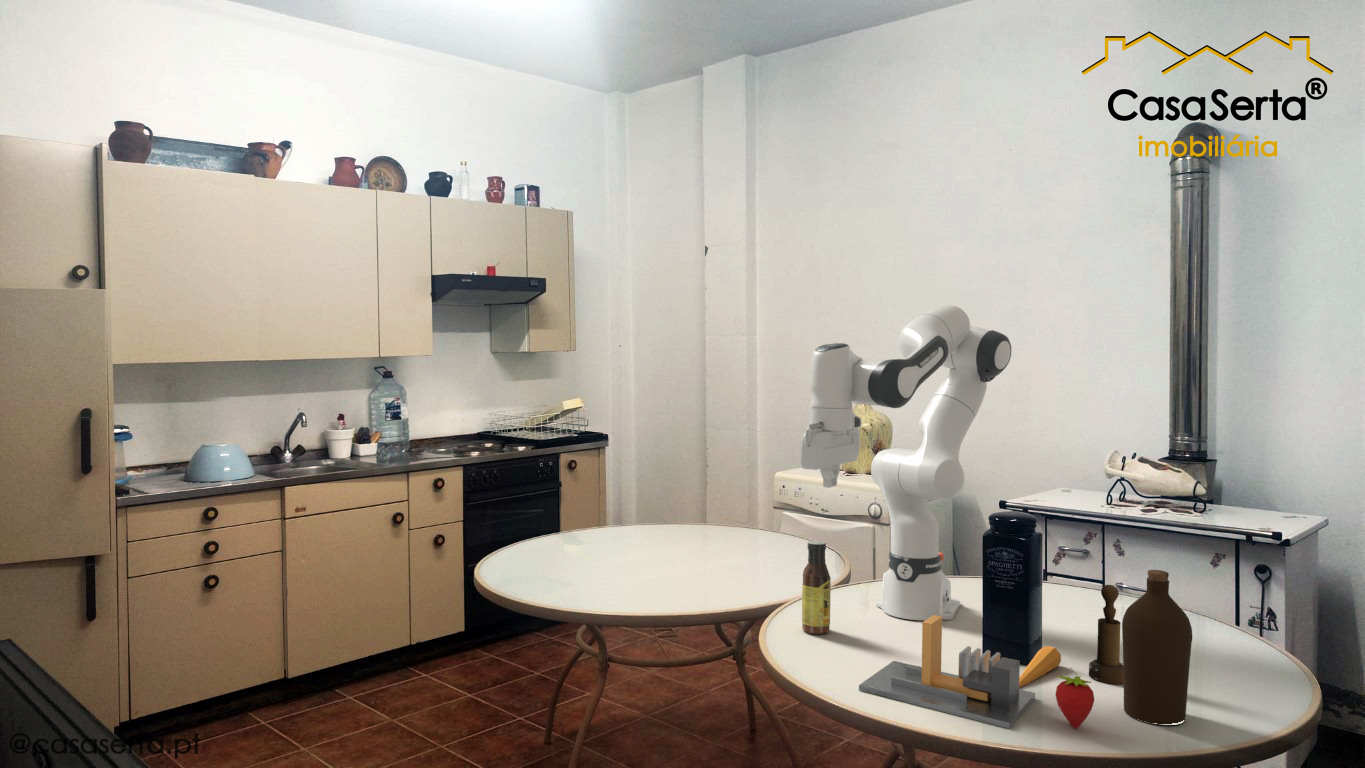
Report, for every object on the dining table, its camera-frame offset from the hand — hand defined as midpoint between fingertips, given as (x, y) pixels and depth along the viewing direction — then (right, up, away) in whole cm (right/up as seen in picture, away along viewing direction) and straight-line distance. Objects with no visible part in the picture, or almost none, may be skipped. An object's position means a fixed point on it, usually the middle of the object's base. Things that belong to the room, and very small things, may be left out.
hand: (830, 486), depth 183 cm
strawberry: (+34, -36, -38) cm, 62 cm away
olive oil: (+51, -36, -33) cm, 70 cm away
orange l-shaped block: (+19, -34, -25) cm, 46 cm away
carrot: (+36, -35, -15) cm, 53 cm away
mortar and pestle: (+51, -35, -15) cm, 64 cm away
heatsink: (+17, -35, -24) cm, 46 cm away
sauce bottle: (-1, -34, +12) cm, 36 cm away
